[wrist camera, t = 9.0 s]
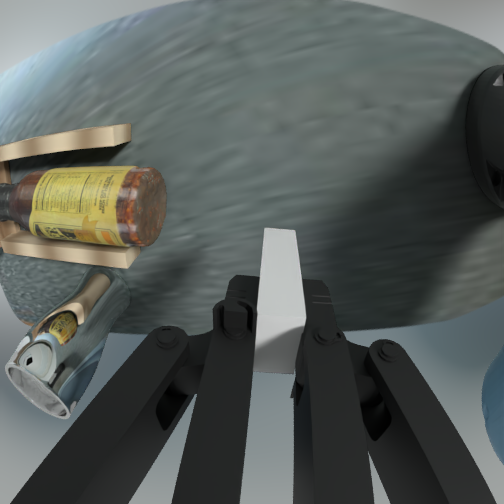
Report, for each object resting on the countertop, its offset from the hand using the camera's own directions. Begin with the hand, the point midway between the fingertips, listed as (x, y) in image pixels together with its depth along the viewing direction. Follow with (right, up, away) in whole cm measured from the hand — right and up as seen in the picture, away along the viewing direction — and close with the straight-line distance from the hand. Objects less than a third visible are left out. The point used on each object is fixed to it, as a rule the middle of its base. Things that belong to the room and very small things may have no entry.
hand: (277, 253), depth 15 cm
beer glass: (-17, -4, +14) cm, 23 cm away
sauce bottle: (-8, +3, +6) cm, 11 cm away
